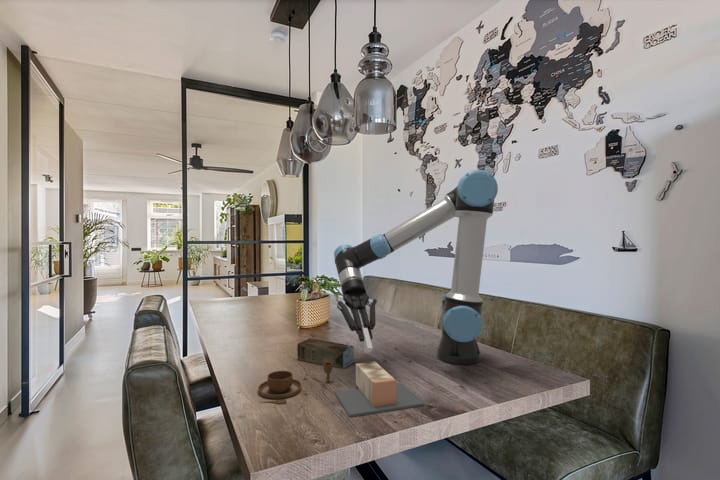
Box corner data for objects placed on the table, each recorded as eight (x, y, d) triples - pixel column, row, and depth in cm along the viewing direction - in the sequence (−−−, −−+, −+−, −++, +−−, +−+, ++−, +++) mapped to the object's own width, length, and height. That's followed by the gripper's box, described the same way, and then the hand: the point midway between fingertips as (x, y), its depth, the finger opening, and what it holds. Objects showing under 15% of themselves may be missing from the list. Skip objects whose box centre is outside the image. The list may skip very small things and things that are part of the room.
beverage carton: (343, 369, 120) (343, 349, 120) (295, 361, 128) (296, 342, 128) (354, 362, 127) (354, 343, 127) (309, 354, 135) (309, 336, 135)
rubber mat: (401, 384, 107) (401, 382, 107) (424, 405, 93) (424, 403, 93) (334, 393, 100) (334, 391, 100) (349, 417, 87) (349, 414, 87)
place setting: (268, 379, 112) (268, 360, 112) (333, 381, 111) (333, 361, 111) (248, 405, 94) (248, 382, 94) (325, 407, 93) (325, 384, 93)
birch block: (375, 361, 107) (395, 380, 93) (375, 381, 107) (395, 403, 93) (355, 363, 106) (373, 383, 91) (355, 384, 106) (373, 406, 91)
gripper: (368, 291, 124) (386, 354, 108) (330, 292, 120) (344, 359, 104) (373, 276, 119) (394, 341, 103) (334, 278, 115) (349, 345, 99)
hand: (369, 350), depth 104 cm, fingers closed
